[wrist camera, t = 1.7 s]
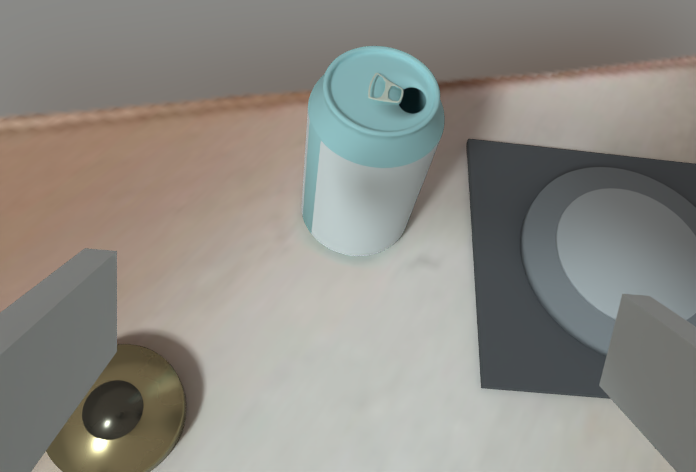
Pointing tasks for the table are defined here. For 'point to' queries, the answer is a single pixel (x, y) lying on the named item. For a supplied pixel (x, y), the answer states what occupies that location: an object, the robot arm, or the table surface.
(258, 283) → the table surface
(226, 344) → the table surface
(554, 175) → the flange station
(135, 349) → the small brass flange
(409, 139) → the can
